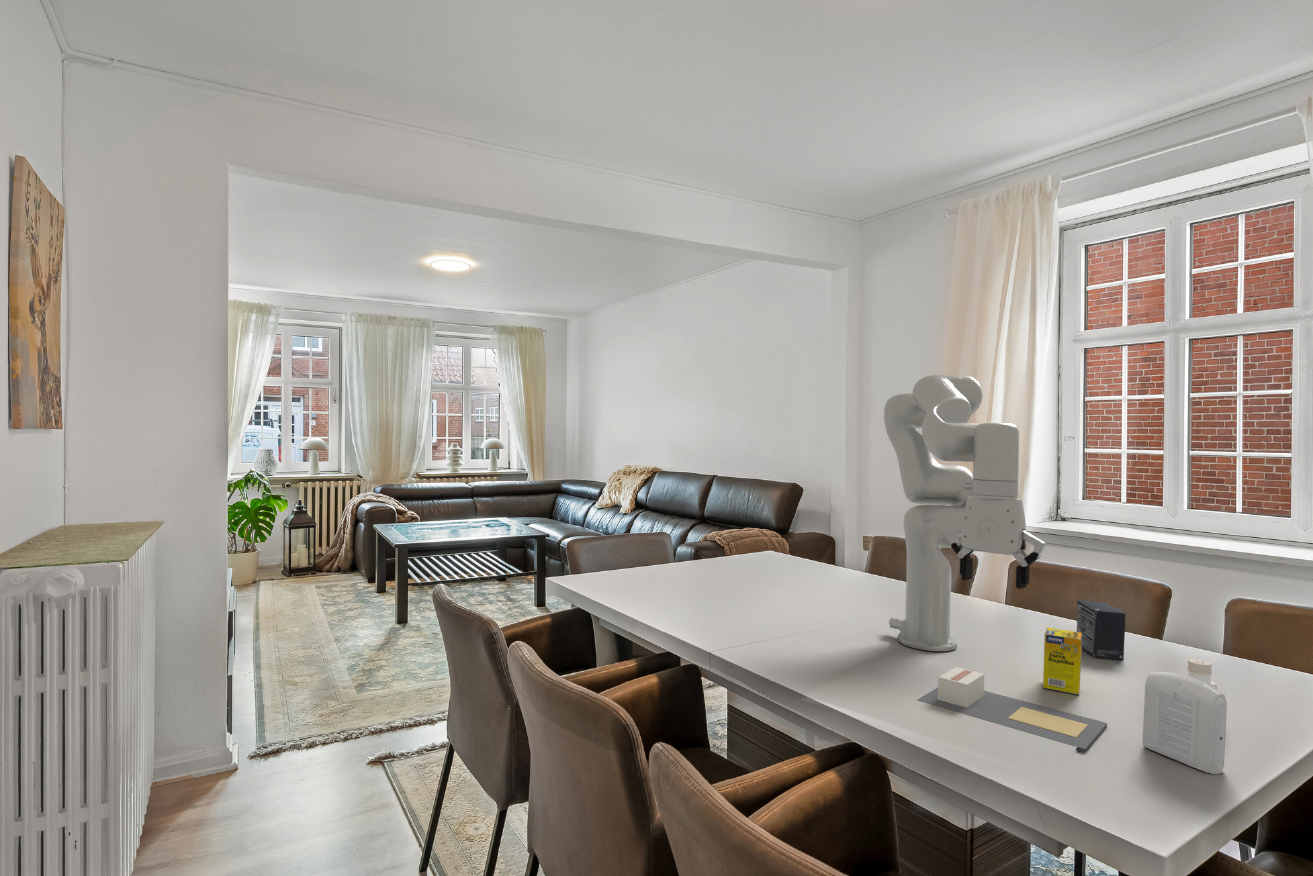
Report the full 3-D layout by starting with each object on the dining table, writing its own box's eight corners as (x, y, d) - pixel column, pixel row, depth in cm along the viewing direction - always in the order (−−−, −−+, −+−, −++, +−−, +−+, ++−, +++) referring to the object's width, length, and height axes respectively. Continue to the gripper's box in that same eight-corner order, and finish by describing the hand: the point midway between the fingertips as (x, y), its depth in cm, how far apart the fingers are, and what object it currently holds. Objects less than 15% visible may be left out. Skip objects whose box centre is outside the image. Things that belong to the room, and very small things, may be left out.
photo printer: (1230, 772, 101) (1233, 686, 100) (1212, 777, 99) (1215, 690, 99) (1154, 742, 110) (1157, 664, 110) (1137, 747, 108) (1139, 667, 108)
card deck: (937, 699, 124) (938, 676, 124) (955, 688, 130) (956, 666, 130) (966, 707, 121) (967, 684, 121) (983, 696, 126) (984, 673, 126)
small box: (1126, 661, 151) (1128, 612, 151) (1093, 658, 152) (1094, 610, 152) (1105, 646, 162) (1106, 601, 161) (1074, 644, 163) (1075, 599, 163)
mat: (916, 703, 124) (916, 699, 124) (948, 684, 134) (948, 680, 134) (1085, 753, 106) (1085, 748, 106) (1107, 726, 116) (1107, 722, 116)
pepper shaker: (1203, 723, 118) (1205, 666, 118) (1178, 714, 122) (1180, 659, 122) (1218, 719, 120) (1219, 664, 120) (1192, 711, 123) (1194, 657, 123)
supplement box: (1079, 699, 128) (1081, 639, 128) (1042, 692, 131) (1044, 633, 131) (1080, 689, 133) (1082, 632, 133) (1044, 683, 136) (1046, 626, 136)
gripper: (939, 487, 133) (938, 578, 133) (1038, 493, 120) (1036, 594, 120) (957, 487, 138) (955, 574, 138) (1053, 492, 125) (1052, 589, 125)
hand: (993, 583), depth 129 cm, fingers open, 9 cm apart
